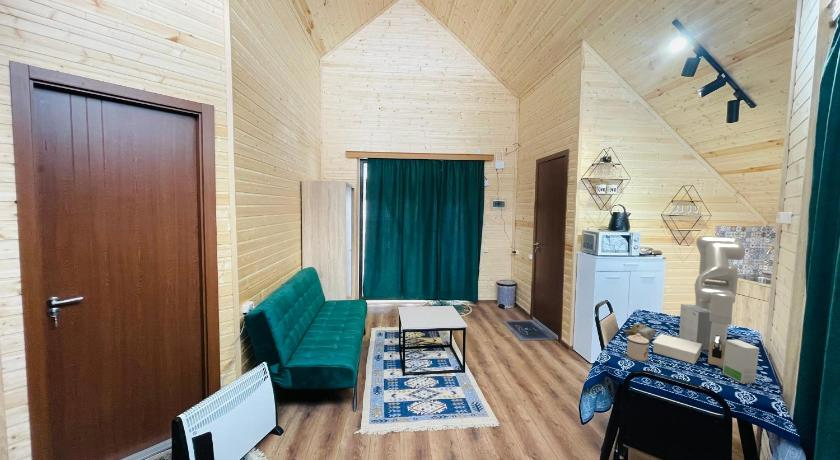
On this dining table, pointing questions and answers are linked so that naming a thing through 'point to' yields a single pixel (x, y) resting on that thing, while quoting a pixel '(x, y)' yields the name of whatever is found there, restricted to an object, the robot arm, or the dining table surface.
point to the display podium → (677, 348)
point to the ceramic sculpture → (641, 331)
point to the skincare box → (740, 361)
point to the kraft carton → (712, 359)
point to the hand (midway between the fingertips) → (718, 354)
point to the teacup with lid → (637, 347)
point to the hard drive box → (695, 325)
